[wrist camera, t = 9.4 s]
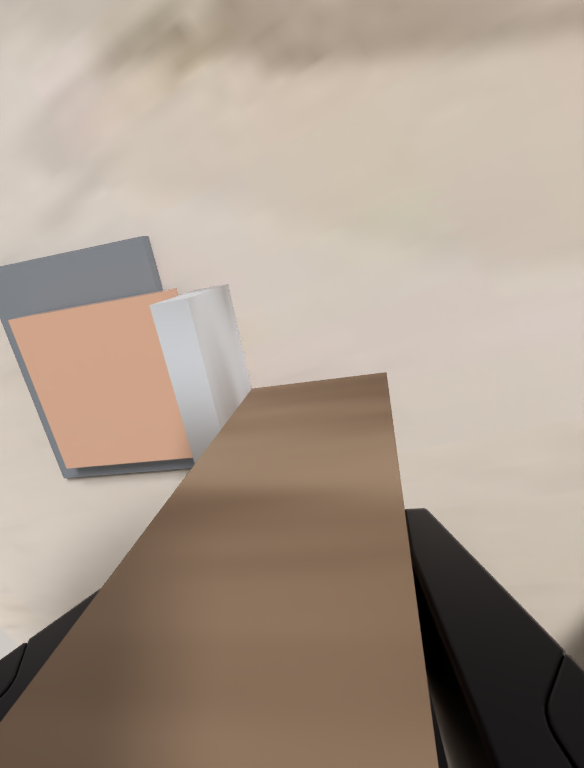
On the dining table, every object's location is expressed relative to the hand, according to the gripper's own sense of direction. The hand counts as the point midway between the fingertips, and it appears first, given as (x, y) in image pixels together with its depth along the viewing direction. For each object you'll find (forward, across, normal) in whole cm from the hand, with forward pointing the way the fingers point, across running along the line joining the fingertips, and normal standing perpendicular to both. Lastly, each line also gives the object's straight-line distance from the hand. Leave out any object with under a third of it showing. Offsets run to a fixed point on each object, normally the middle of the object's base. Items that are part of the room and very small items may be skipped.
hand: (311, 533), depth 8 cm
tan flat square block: (+11, +7, 0) cm, 13 cm away
